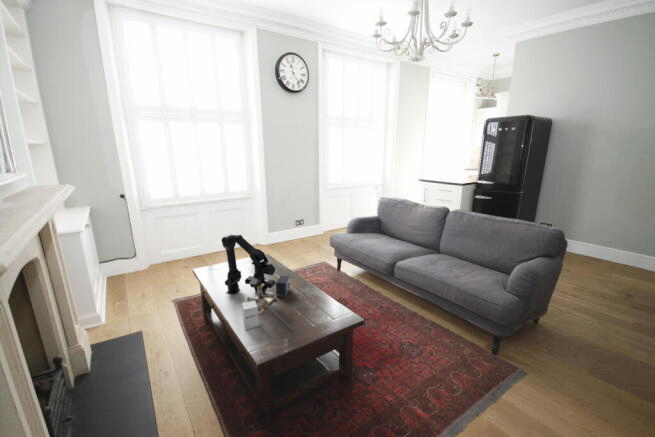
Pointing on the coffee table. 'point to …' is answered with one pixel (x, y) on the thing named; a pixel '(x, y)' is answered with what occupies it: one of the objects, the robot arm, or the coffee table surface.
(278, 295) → the small box
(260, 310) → the dish
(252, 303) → the supplement box
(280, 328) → the coffee table surface
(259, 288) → the cell
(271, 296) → the cradle
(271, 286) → the robot arm
